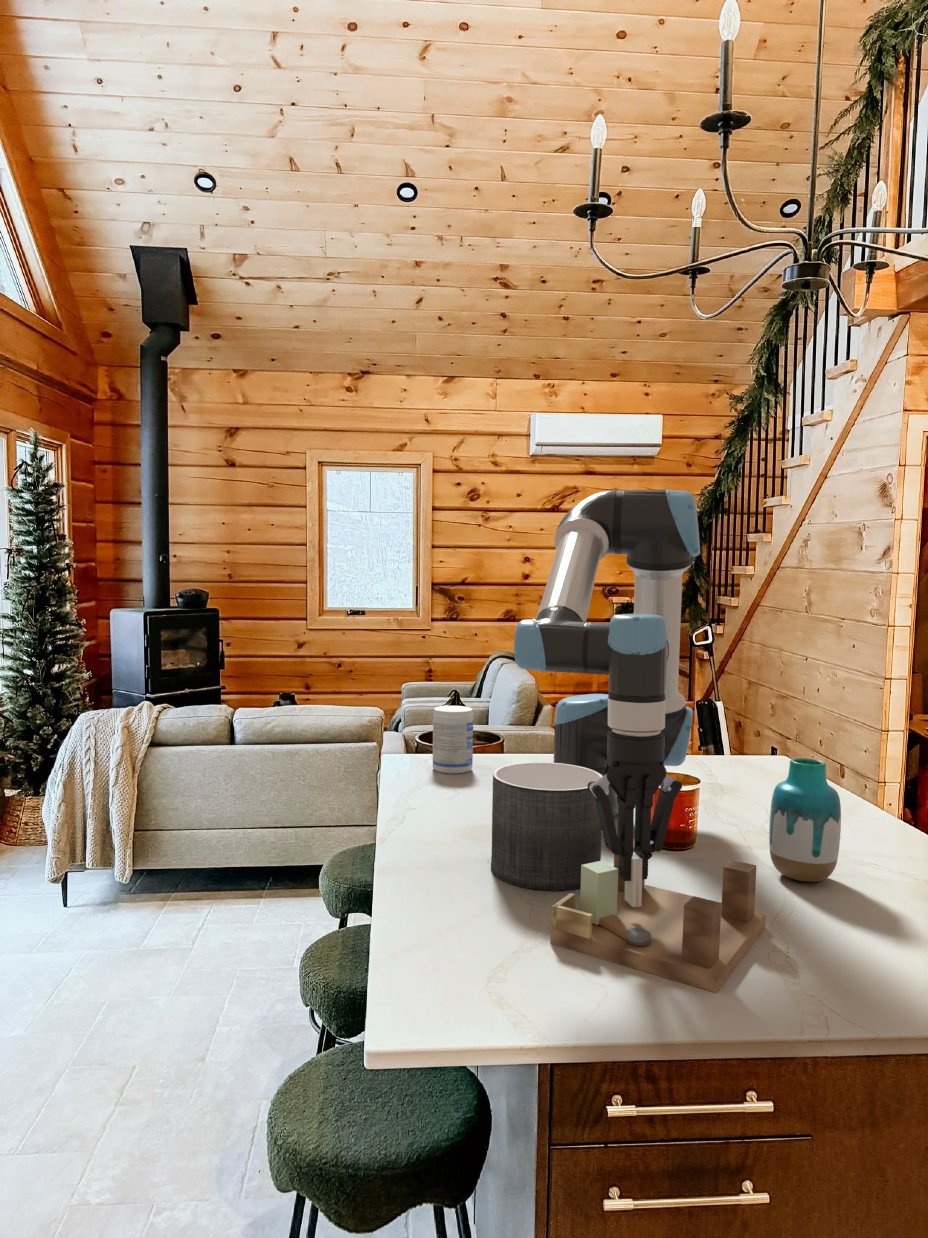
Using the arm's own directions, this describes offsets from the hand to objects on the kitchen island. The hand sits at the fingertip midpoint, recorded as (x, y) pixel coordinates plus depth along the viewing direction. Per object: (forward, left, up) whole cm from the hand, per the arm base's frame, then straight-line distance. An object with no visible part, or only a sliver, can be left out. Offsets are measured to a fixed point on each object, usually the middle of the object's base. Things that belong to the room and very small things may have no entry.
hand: (632, 902), depth 116 cm
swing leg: (0, -4, -2) cm, 5 cm away
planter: (-21, +14, -5) cm, 25 cm away
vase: (+14, +36, -5) cm, 39 cm away
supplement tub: (-70, +59, -5) cm, 91 cm away
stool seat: (+3, +2, -4) cm, 6 cm away
